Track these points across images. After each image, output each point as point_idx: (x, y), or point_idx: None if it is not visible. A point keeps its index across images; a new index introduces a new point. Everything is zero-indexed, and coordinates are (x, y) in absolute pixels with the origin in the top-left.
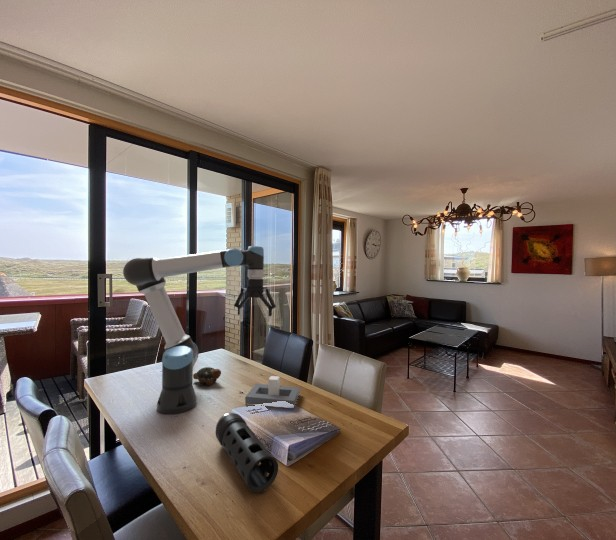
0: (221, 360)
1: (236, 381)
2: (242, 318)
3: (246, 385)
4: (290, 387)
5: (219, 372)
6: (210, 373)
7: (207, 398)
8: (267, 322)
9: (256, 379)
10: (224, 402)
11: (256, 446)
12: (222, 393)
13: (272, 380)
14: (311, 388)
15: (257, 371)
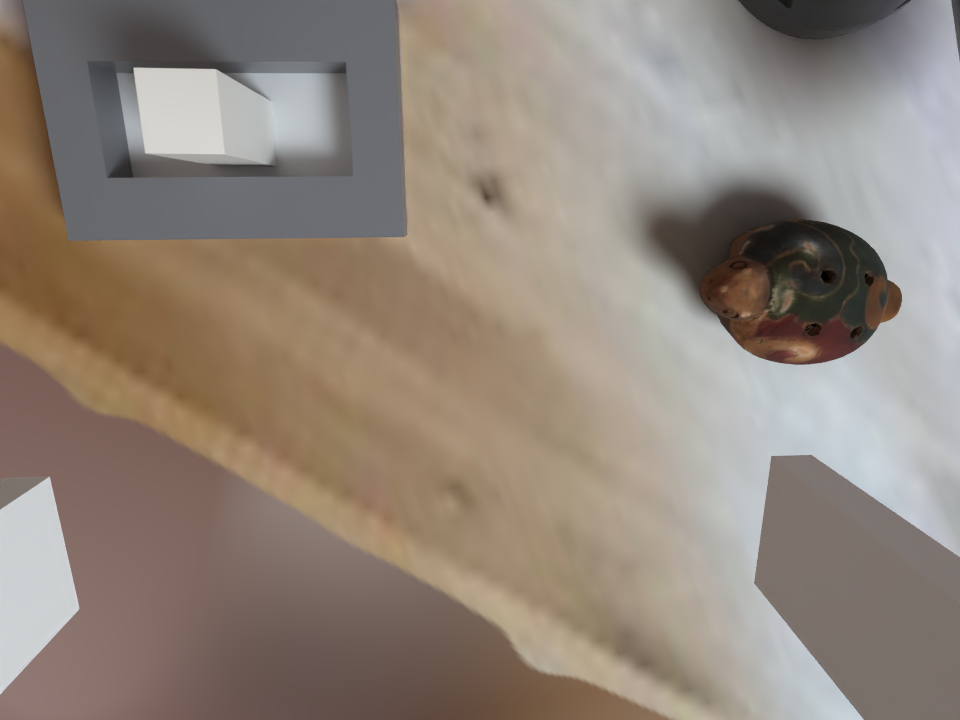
0: (806, 660)
1: (586, 354)
2: (799, 598)
3: (499, 307)
4: (133, 222)
5: (714, 277)
6: (777, 259)
7: (677, 55)
8: (6, 487)
9: (468, 413)
10: (545, 18)
11: None
12: (609, 151)
13: (182, 70)
14: (58, 352)
15: (507, 539)
